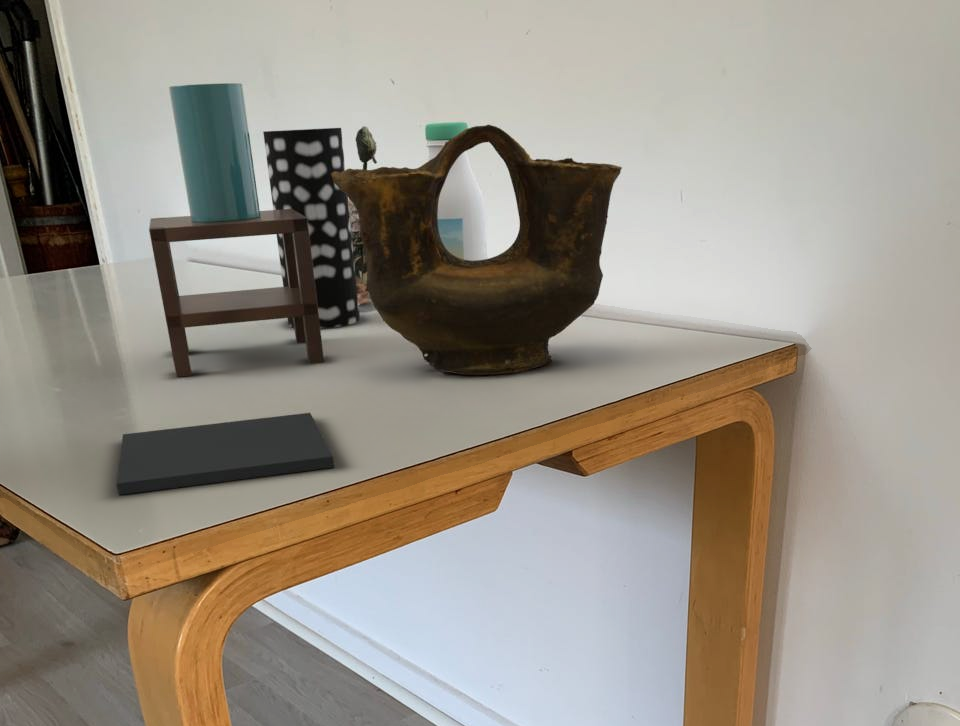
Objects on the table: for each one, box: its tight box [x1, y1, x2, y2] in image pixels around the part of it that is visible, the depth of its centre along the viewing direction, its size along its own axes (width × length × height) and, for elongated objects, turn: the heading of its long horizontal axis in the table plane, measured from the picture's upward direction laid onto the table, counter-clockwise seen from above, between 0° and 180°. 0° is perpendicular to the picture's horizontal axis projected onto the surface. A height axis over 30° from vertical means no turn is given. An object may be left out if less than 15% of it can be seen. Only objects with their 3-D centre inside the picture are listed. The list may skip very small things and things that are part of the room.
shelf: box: [148, 209, 325, 378], centre depth 97 cm, size 14×12×13 cm
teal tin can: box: [168, 82, 261, 222], centre depth 92 cm, size 6×9×11 cm
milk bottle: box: [424, 121, 488, 261], centre depth 110 cm, size 8×8×20 cm
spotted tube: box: [262, 127, 361, 330], centre depth 111 cm, size 8×8×20 cm
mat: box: [116, 412, 335, 496], centre depth 70 cm, size 14×12×1 cm
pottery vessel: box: [331, 124, 623, 376], centre depth 87 cm, size 25×11×20 cm, turn 101°
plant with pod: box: [348, 125, 378, 308], centre depth 120 cm, size 8×11×20 cm
